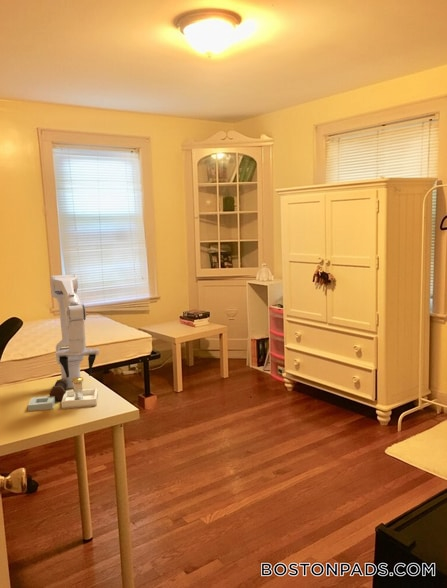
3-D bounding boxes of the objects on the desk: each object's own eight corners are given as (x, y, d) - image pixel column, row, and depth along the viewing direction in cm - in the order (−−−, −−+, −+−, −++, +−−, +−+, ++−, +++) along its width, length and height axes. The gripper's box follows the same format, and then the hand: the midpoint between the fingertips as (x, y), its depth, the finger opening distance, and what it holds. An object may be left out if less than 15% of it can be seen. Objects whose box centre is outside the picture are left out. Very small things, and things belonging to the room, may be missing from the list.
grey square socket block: (32, 402, 176) (31, 397, 175) (55, 400, 177) (55, 395, 177) (28, 410, 168) (27, 405, 167) (52, 408, 169) (52, 403, 169)
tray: (65, 397, 180) (65, 391, 180) (97, 394, 183) (97, 388, 182) (61, 408, 169) (61, 401, 169) (96, 405, 172) (96, 398, 171)
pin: (73, 398, 177) (72, 377, 176) (84, 397, 178) (83, 376, 177) (72, 402, 173) (71, 380, 172) (84, 401, 174) (82, 379, 173)
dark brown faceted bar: (64, 391, 192) (60, 403, 177) (52, 386, 191) (46, 398, 176) (71, 378, 192) (67, 389, 177) (59, 373, 191) (54, 383, 176)
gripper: (53, 342, 168) (56, 380, 169) (97, 340, 170) (99, 377, 172) (56, 338, 174) (58, 374, 176) (98, 335, 177) (100, 371, 179)
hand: (79, 375), depth 175 cm, fingers open, 7 cm apart
